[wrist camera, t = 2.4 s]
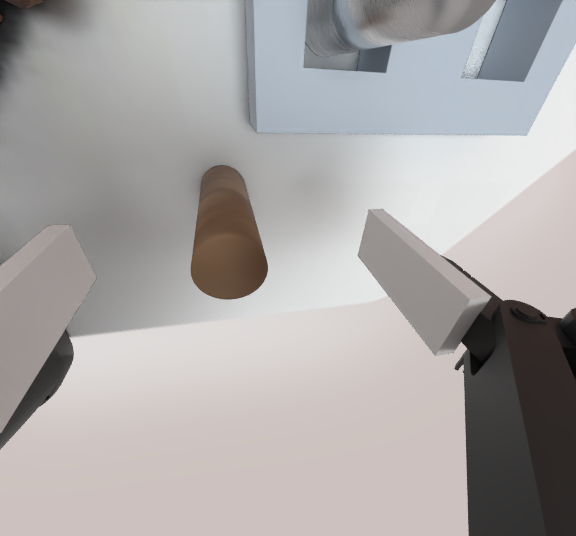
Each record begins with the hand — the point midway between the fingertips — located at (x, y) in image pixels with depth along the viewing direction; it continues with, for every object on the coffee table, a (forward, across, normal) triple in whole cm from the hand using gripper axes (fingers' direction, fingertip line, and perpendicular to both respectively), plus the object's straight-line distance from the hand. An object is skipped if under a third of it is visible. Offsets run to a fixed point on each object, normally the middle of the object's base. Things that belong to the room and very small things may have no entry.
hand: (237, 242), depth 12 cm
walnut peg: (+8, -1, 0) cm, 8 cm away
